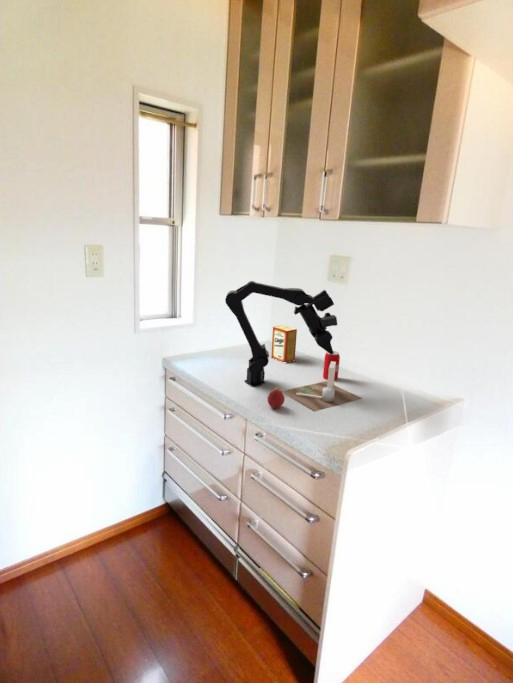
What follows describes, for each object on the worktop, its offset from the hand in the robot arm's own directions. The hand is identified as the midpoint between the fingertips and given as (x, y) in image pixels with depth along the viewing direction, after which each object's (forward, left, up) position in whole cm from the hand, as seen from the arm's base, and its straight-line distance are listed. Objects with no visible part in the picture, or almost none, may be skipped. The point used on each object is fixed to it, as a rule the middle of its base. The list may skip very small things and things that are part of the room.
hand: (329, 350), depth 164 cm
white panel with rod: (-11, -6, -14) cm, 19 cm away
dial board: (-10, -8, -15) cm, 19 cm away
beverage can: (+6, +4, -15) cm, 17 cm away
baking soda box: (+4, +35, -15) cm, 39 cm away
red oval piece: (-32, -9, -15) cm, 36 cm away
